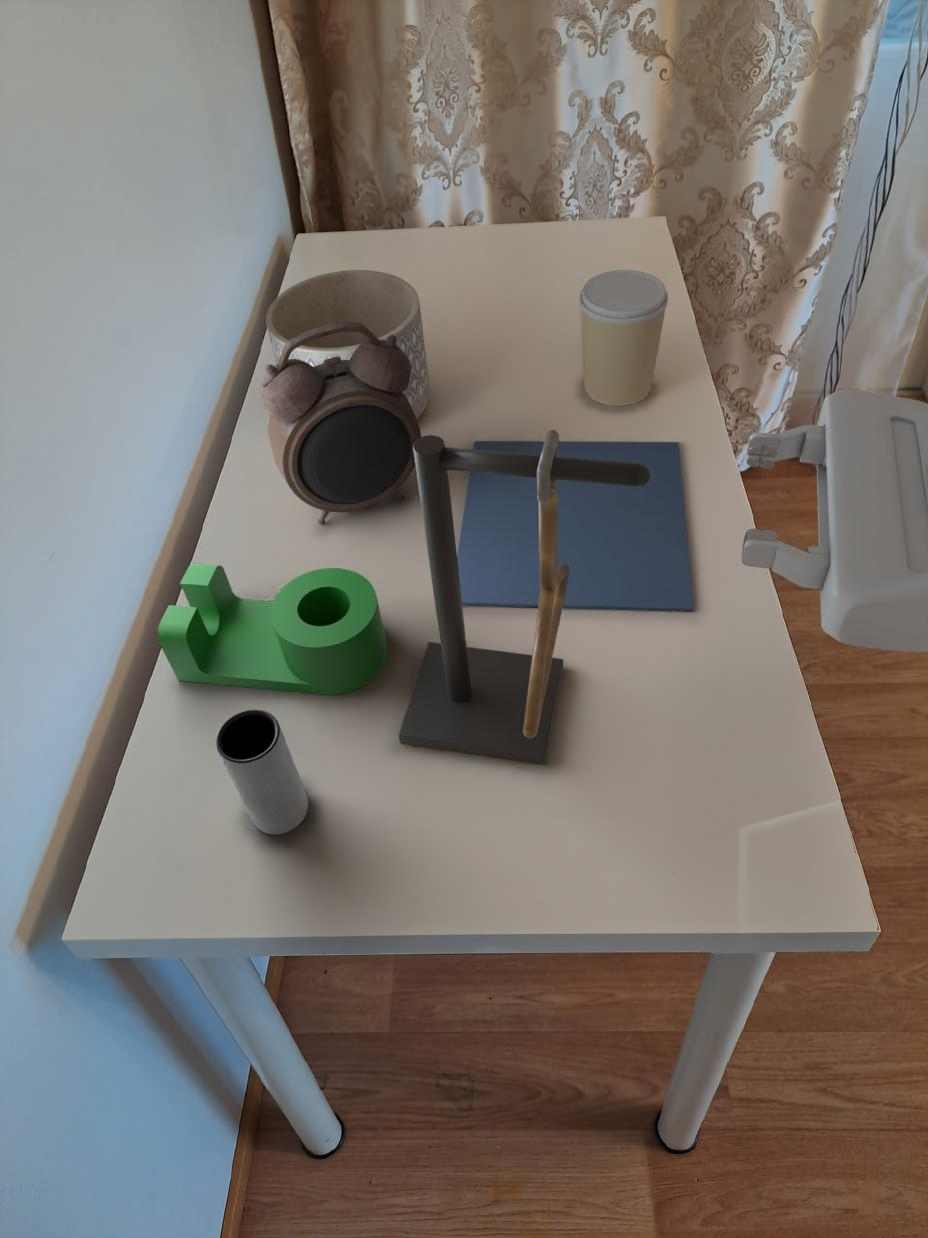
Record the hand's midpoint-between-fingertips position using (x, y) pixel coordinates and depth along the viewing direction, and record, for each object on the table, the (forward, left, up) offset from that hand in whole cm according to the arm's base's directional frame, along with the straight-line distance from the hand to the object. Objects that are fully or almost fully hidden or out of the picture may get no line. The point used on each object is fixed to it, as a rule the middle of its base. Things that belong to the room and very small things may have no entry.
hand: (745, 495), depth 57 cm
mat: (+11, -23, -23) cm, 34 cm away
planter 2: (+36, -41, -23) cm, 59 cm away
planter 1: (+33, +11, -23) cm, 42 cm away
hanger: (+12, +1, -14) cm, 19 cm away
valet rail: (+15, +1, -23) cm, 27 cm away
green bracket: (+36, -5, -23) cm, 43 cm away
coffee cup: (+6, -45, -23) cm, 51 cm away
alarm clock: (+33, -25, -23) cm, 47 cm away
